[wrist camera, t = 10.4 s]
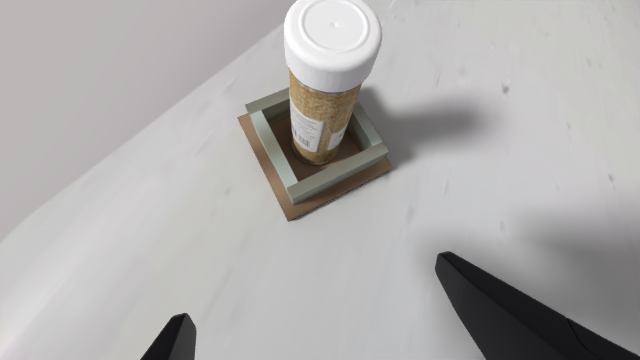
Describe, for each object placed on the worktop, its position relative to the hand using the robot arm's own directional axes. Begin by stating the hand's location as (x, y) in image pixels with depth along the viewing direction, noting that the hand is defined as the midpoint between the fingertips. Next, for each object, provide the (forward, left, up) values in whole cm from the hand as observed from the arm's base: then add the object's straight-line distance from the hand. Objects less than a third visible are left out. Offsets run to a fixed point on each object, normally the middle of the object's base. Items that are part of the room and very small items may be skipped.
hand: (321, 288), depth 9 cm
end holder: (+10, -6, -14) cm, 18 cm away
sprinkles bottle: (+9, -6, -13) cm, 17 cm away
